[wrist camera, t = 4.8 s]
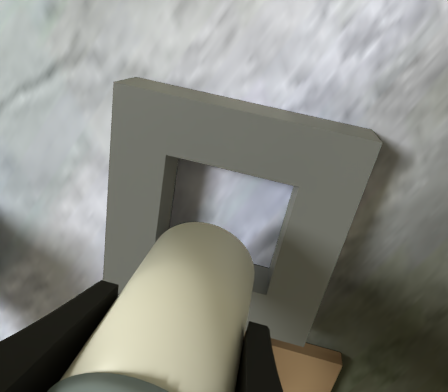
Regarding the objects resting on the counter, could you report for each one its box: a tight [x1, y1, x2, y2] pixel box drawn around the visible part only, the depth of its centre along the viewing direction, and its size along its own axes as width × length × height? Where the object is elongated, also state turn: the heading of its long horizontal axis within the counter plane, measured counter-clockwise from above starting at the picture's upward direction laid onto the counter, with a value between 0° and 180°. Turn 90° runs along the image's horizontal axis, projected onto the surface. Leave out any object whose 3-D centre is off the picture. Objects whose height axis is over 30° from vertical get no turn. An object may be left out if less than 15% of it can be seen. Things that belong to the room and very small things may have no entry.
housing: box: [103, 77, 382, 347], centre depth 19 cm, size 12×12×2 cm
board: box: [244, 331, 343, 392], centre depth 25 cm, size 14×10×1 cm
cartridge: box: [47, 222, 255, 392], centre depth 11 cm, size 5×5×8 cm
